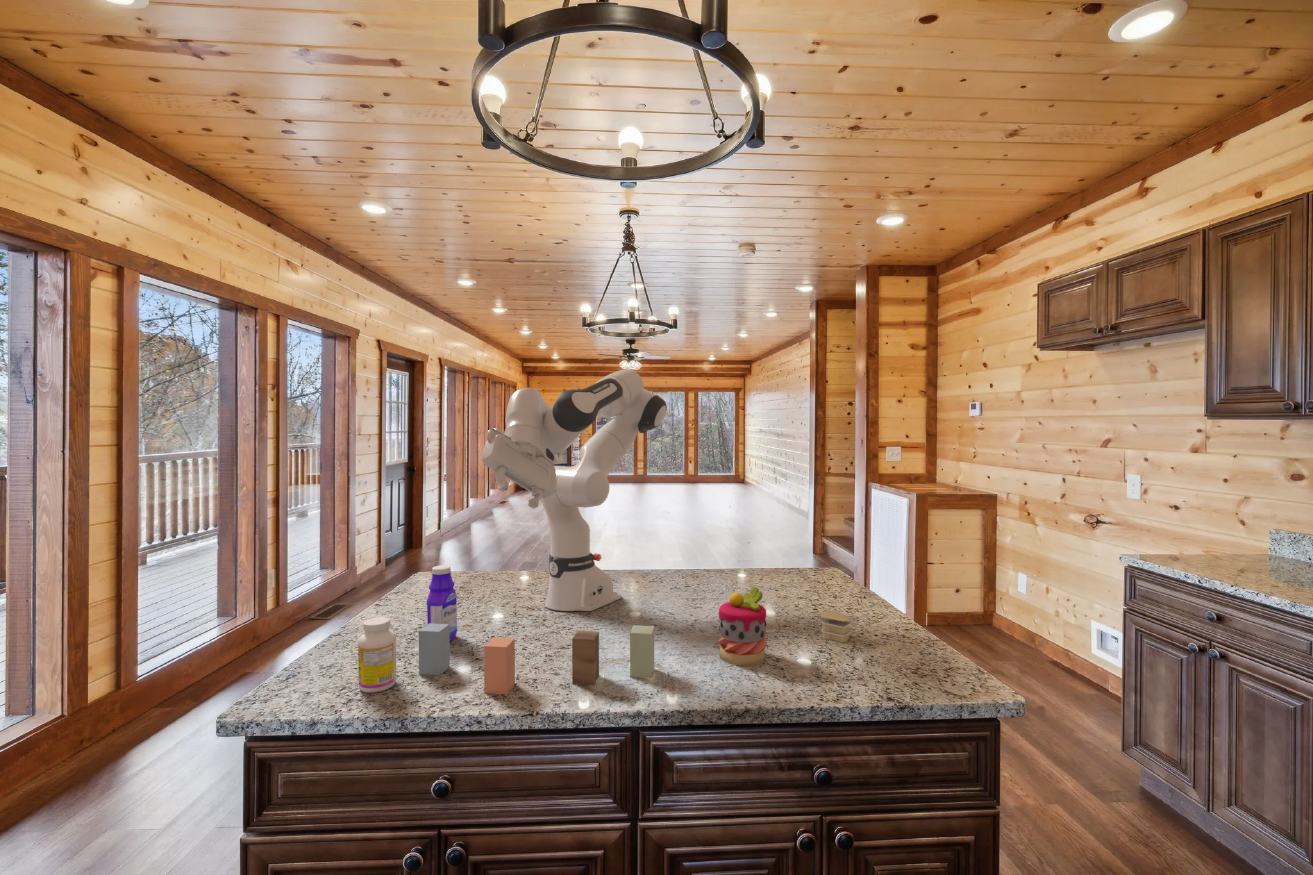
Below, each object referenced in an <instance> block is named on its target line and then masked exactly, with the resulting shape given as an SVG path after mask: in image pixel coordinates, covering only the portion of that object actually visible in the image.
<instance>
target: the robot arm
mask: <svg viewBox="0 0 1313 875" xmlns="http://www.w3.org/2000/svg"><path fill="white" fill-rule="evenodd" d="M667 408H668V406H667V403H666V401H665V400H664V399H663V398H662V397H661V396H659V395H658V394H654V393H653V392H651V391H649V390H648V389H646V388H644V381H643V379H642V377H641V375H640V374H639V373H637V371H635V370H634V369H633V370H632V369H629V368H627V369H621V370H617V371H614V372H611V373H610V374H607V375H605V376H604V377H601V378H600V379H599V380H597V381H596V382H595V383H593V384H592V385H589V386H588V387H584V388H575V389H574V388H573V389H566V390H564V391H563V392H561V393H560V394H559V395H558V397H557V399H556V400H555V401H554V403H553V405H552V406H551V405H550V404H548V403H547V402H546V400H545V398H544V397H543V395H542V393H541V392H540V391H539V390H538V389H537V388H533V387H523V388H519V389H517V390H516V391H514V392H513V393H512V394H511V396H510V397H509V400H508V403H507V408H506V411H505V412H506V413H505V425H506V428H505V430H504V431H503V432H504V433H503V432H501V430H499V429H497V428H490V429H489V430H488V431H487V434H486V442H485V444H484V447H483V450H482V455H481V461H482V463H483V465H484V466H486V467H487V468H489V469H490V470H492V471H494V477H495V479H496V482H497V486H496V488H497V490H499V491H501V492H502V493H504V492H506V491H507V490H509V484H510V482H508V481H507V479H508V480H509V481H511V482H513V483H514V484H516V485H518V486H519V487H521V488H524V490H526V491H528V492H530V493H531V496H532V498H529V499H528V505H527V506H528V507H529V508H531V509H534V510H535V509H536V508H538V507H539V505H540V502H541V504H542V507H543V508H544V511H545V514H546V517H547V521H548V524H549V537H550V553H549V556H548V571H549V584H548V589H547V594H546V598H545V602H544V605H545V607H546V608H547V609H550V610H554V611H561V612H574V611H575V612H576V611H578V612H579V611H580V612H581V611H582V612H593V611H595V610H597V609H598V608H601V607H604V606H607V605H608V604H611V603H614V602H615V601H616V602H617V601H618V600H620V599H622V594H621V593H620V592H619V591H617V590H615V589H614V583H613V580H612V577H611V576H610V575H609V574H608V573H607V572H605V571H604V570H602V569H601V568H600V567H598V566H597V565H596V563H595V561H596V562H600V561H601V559H602V555H601V553H597V552H595V553H594V554H593V553H592V552H591V536H590V535H591V529H590V526H589V524H588V522H587V520H585V518H583V516H582V514H581V512H580V509H579V508H593V507H598V506H601V505H602V504H604V503H605V501H606V500H607V498H608V496H609V495H610V481H609V480H608V477H609V475H610V473H611V472H612V470H613V468H615V466H616V465H618V463H619V462H620V461H621V460H622V458H624V456H626V454H627V453H628V451H629V450H630V449H631V447H632V445H633V444H634V443H635V441H636V438H637V435H638V433H640V434H645V433H647V432H649V431H652V430H654V429H656V428H658V427H659V426H660V425H661V423H663V421H664V419H665V417H666V414H667ZM598 416H599V417H602V418H604V419H609V418H613V419H611V420H610V421H608V422H607V423H605V424H603V425H602V427H600V428H599V429H598V430H597V431H596V432H595V433H594V434H593V435H592V436H591V437H590V438H589V439H588V440H587V441H586V442H585V443H584V444H583V445H582V446H581V448H580V450H579V460H580V461H579V462H578V463H577V464H574V465H572V466H563V465H556V464H557V456H556V455H555V454H560V453H563V452H565V451H566V450H567V449H568V448H569V447H570V446H571V445H572V444H573V443H574V442H575V441H576V440H577V439H578V438H579V436H580V435H582V433H583V432H584V431H585V430H586V429H587V428H589V427H590V426H591V425H592V424H593V423H594V422H595V421H596V419H597V417H598ZM539 501H540V502H539Z"/></svg>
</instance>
